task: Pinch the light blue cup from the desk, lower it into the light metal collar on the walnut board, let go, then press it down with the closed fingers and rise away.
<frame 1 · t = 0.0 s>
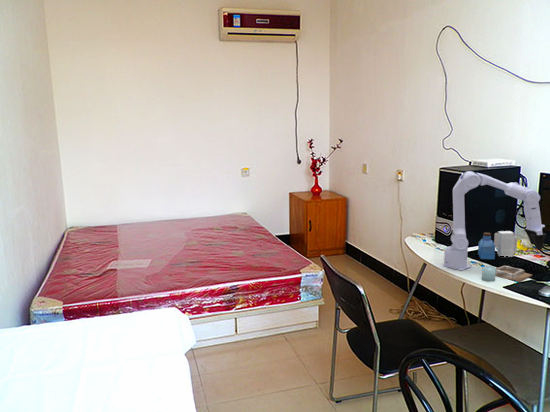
hand: (536, 246, 191), 11 cm above the table, tool pointing down, fingers open, 7 cm apart
perfume bottle: (486, 257, 213), on the table
skincare box: (504, 256, 213), on the table
collar board: (508, 274, 189), on the table
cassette: (504, 249, 223), on the table
light blue cup: (488, 279, 185), on the table
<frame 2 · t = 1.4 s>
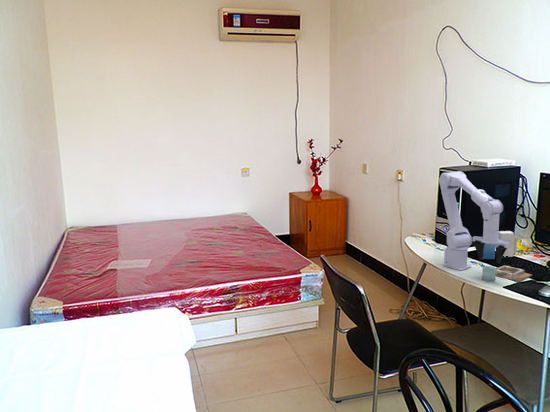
hand: (489, 260, 183), 8 cm above the table, tool pointing down, fingers open, 7 cm apart
nothing on the table moved.
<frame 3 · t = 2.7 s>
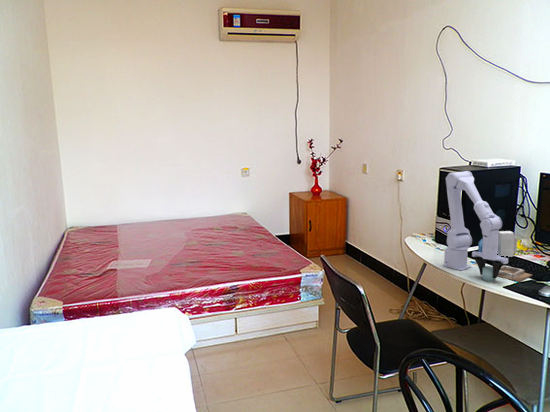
hand: (488, 276, 184), 1 cm above the table, tool pointing down, fingers closed on light blue cup, 5 cm apart
light blue cup: (488, 279, 185), on the table, touching gripper
everything else where it was.
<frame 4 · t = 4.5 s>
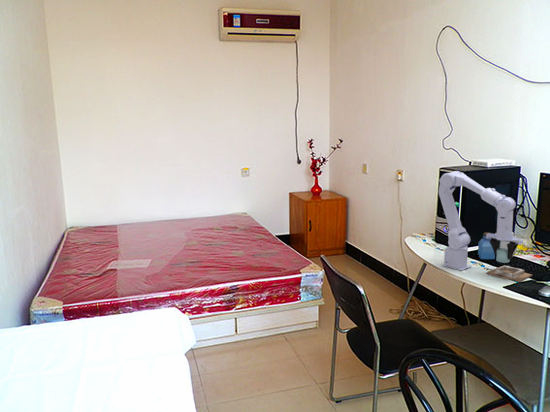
hand: (503, 257, 186), 8 cm above the table, tool pointing down, fingers closed on light blue cup, 5 cm apart
light blue cup: (502, 260, 186), point 7 cm above the table, touching gripper
everything else where it was.
when the fingers open (3 cm above the table, at t = 6.6 s): light blue cup drops 1 cm, resting on collar board.
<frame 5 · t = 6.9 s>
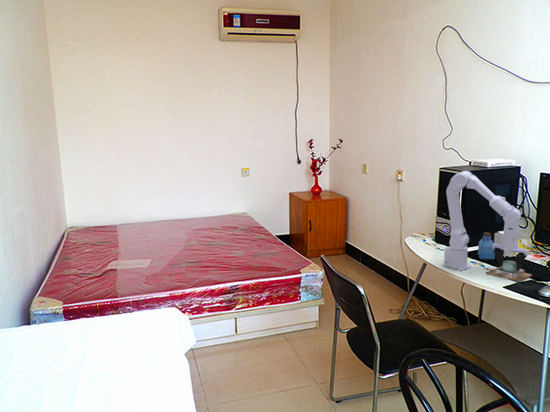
hand: (509, 267, 188), 3 cm above the table, tool pointing down, fingers open, 7 cm apart
light blue cup: (508, 273, 188), point 1 cm above the table, touching collar board
everything else where it was.
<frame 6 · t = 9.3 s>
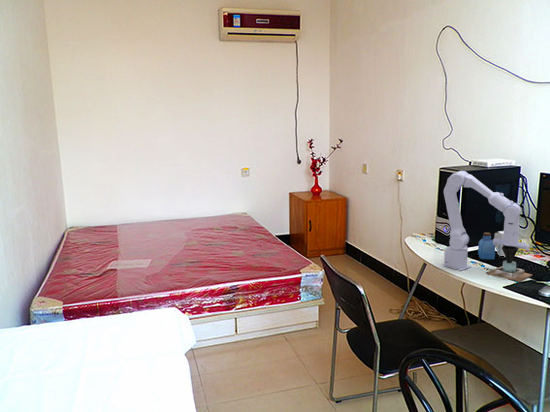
hand: (509, 262, 187), 5 cm above the table, tool pointing down, fingers closed, pressing on light blue cup
light blue cup: (508, 273, 188), point 1 cm above the table, touching collar board, gripper
everything else where it was.
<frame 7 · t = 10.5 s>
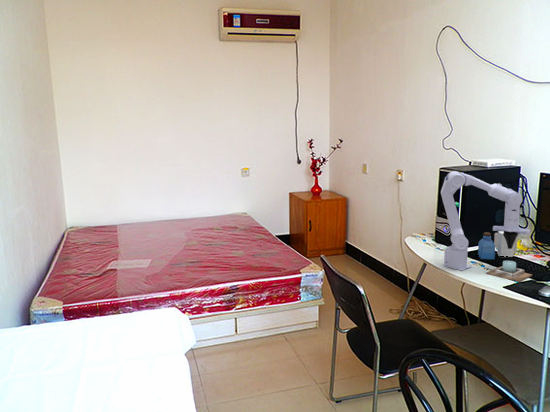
hand: (510, 248, 194), 9 cm above the table, tool pointing down, fingers closed
light blue cup: (508, 273, 188), point 1 cm above the table, touching collar board
everything else where it was.
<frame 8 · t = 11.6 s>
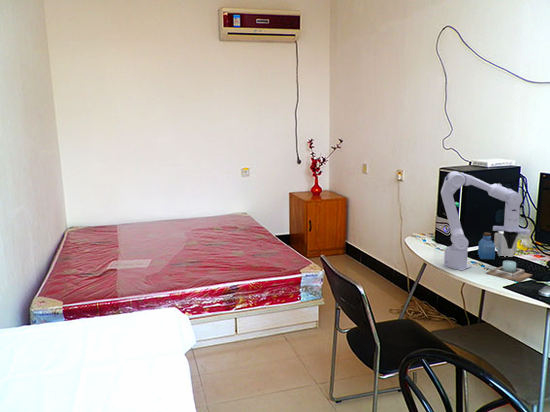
hand: (510, 248, 194), 9 cm above the table, tool pointing down, fingers closed
nothing on the table moved.
at the end: light blue cup 0.0 cm off-centre on the collar board, point 0.6 cm above the collar board's base; light blue cup tilted 0°; the gripper is holding nothing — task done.
